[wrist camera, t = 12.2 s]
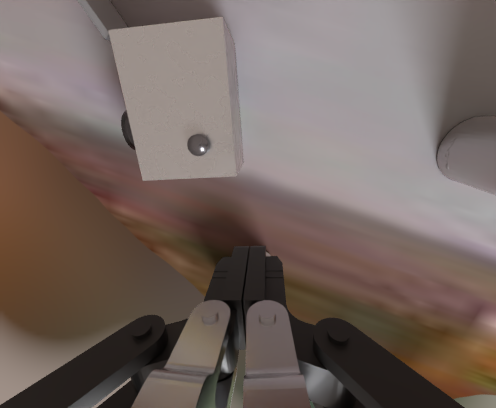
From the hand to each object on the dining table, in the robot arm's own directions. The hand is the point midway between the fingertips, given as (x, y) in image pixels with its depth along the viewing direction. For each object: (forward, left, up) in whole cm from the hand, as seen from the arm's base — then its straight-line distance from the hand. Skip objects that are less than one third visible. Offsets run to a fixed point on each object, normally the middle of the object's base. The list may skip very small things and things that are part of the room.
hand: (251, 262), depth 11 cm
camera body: (+9, -8, -27) cm, 30 cm away
